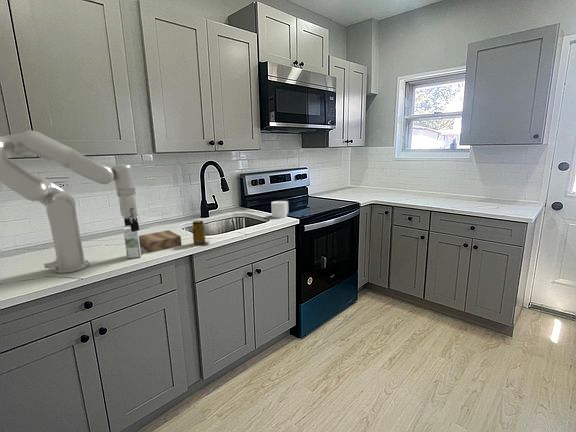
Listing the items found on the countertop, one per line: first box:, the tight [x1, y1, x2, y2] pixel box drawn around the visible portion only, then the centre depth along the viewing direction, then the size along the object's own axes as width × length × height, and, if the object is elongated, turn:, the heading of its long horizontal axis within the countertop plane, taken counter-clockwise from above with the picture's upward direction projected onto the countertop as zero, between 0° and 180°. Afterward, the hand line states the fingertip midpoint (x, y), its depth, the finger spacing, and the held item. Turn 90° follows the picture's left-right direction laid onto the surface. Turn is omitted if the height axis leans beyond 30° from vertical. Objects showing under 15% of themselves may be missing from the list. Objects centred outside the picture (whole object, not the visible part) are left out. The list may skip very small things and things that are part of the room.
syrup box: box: [123, 225, 142, 260], centre depth 148 cm, size 6×6×14 cm
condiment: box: [191, 220, 211, 247], centre depth 166 cm, size 7×8×12 cm
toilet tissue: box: [271, 200, 289, 219], centre depth 224 cm, size 11×12×10 cm
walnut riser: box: [139, 229, 182, 254], centre depth 165 cm, size 16×16×5 cm
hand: (132, 228), depth 147 cm, fingers open, 9 cm apart
